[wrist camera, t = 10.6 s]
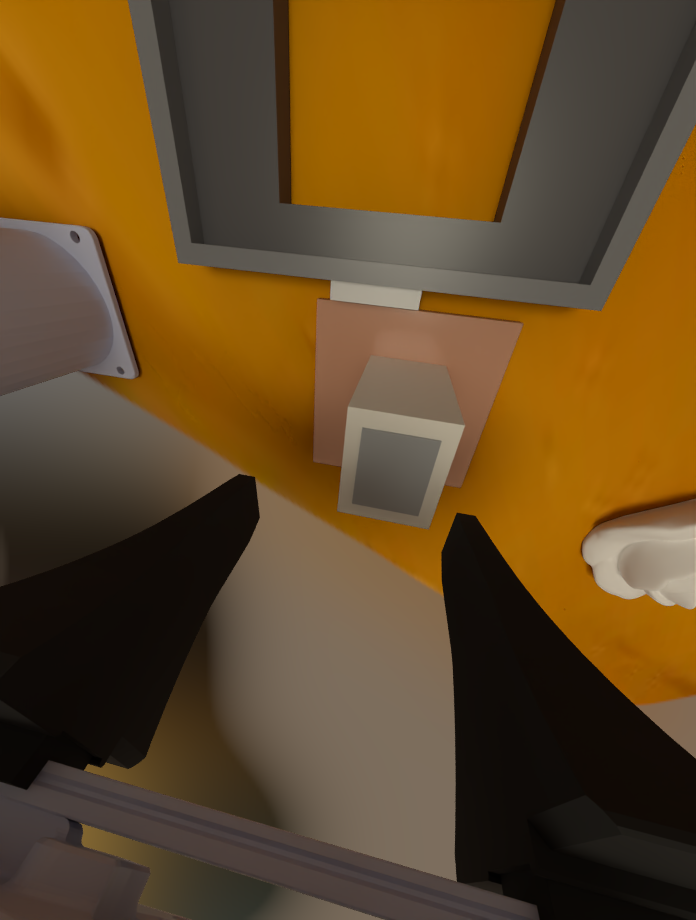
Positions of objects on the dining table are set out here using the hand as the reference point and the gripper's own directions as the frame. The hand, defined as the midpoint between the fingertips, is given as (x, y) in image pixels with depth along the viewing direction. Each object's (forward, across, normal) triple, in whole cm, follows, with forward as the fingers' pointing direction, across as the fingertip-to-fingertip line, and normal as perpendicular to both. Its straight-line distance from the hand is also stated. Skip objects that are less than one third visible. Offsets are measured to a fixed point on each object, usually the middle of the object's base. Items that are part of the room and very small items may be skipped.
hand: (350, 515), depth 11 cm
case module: (+9, -1, -1) cm, 9 cm away
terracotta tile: (+9, -1, -1) cm, 9 cm away
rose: (+10, -20, +6) cm, 23 cm away
